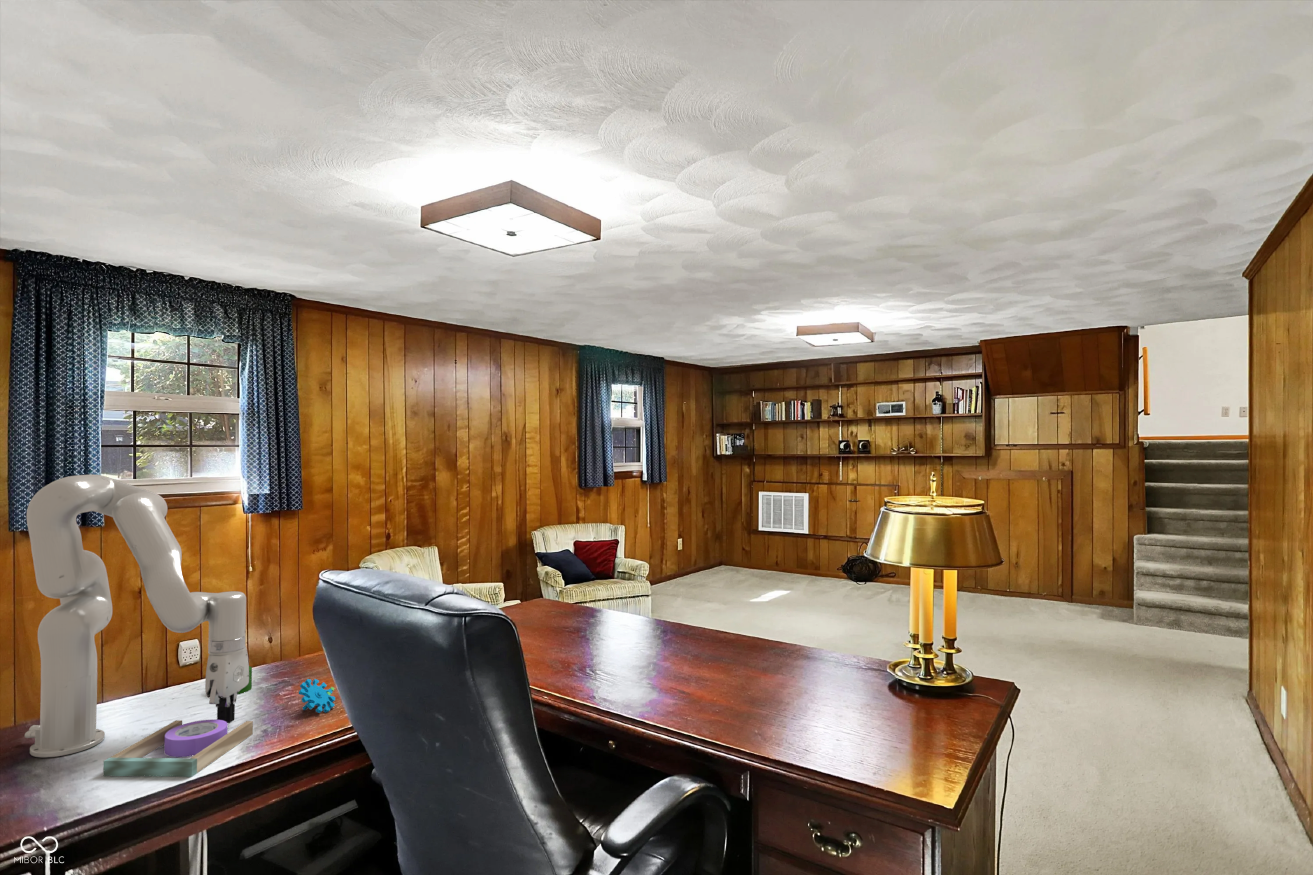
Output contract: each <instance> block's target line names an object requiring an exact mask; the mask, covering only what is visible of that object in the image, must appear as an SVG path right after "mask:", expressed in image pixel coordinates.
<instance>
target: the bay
mask: <svg viewBox="0 0 1313 875" xmlns="http://www.w3.org/2000/svg"><path fill="white" fill-rule="evenodd" d="M180 725H183V720H182V719H181V720H180V719H179V720H178V719H177V720H174V721H172V722H171V723H169V724H167V725H165V726H164V727H161V728H159V729H158V730H156V731H154V732H152V733H151V734H149V735H147V736H146V737H144V738H142V739H140V740H138V741H136V742H135V743H133V744H131V745H130V746H127V747H126V748H124V749H122V750H120V751H118V752H117V753H115V754H113V755H112V756H110V757H109V758H107V759H105V760H103V770H102V771H103V772H102V773H103V775H102V776H104V777H175V778H176V777H177V778H178V777H179V778H181V777H182V778H191V777H194V776H196V774H199V773H200V772H201V771H202V770H203V768H204V769H205V768H207V767H208V766H209V765H211V764H212V763H214V762H215V761H217V760H219V758H220V757H222V756H224V755H225V754H226V753H228V752H229V751H231V750H232V749H234V748H235V747H236V746H238V745H239V744H241V743H242V742H243V741H245V740H246V739H248V738H249V737H251V736H252V735H253V733H254V729H253V727H254V720H252V721H251V720H246V721H245V722H243V723H241V724H240V725H238V726H237V727H235V728H233V729H232V730H230V731H228V732H227V734H226V735H225V736H223V737H222V738H220V739H219V740H217V741H215V742H214V743H212V744H211V745H209V746H208V747H206V748H205V749H203V750H202V751H200V752H199V753H197V754H196V755H194V756H190V757H189V758H188V757H186V758H185V757H171V758H170V757H169V758H168V757H145V756H147V755H148V754H151V753H152V752H153V751H156V750H157V749H158V748H160V747H162V746H163V745H165V734H166V733H167V732H168V731H169V730H171V729H173V728H175V727H177V726H180ZM211 762H212V763H211ZM210 763H211V764H210ZM200 770H201V771H200Z"/></svg>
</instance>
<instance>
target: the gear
mask: <svg viewBox="0 0 1313 875" xmlns="http://www.w3.org/2000/svg"><path fill="white" fill-rule="evenodd" d="M319 682H320V680H319V679H317V678H314V679H313V680H312V679H309V678H307V679H305V681H303V682H302V683H301V684H300V685H299V687H300V689H299V691H298V695H300V696H302V698H301V702H302V703H303V704H304V703H305V705H303V706H302V710H303V711H306V710H308V709H309V710H312V709H313V708H315V706H317V708H316V709H315V712H316V713H319V714H321V713H322V712H323V713H329V712H330V711H331V709H333V708H334V707H335V703H334V702H335V701H336V697H335V696H333V695H332V694H333V692H334V690H335V687H333V686H330V688H329V689H325V688H326V687H327V683H326V682H322V683H321V684H320V685H318V684H319Z"/></svg>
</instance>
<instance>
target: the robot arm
mask: <svg viewBox="0 0 1313 875" xmlns="http://www.w3.org/2000/svg"><path fill="white" fill-rule="evenodd" d="M89 512H95V513H99V514H101V515H104V516H105V515H106V516H109V517H111V518H113V521H114V523H115V525H116V527H117V529H118V530H119V532H120V534H121V536H122V537H123V539H124V540H125V543H126V545H127V546H128V548H129V550H130V552H131V553H132V556H133V557H134V559H135V560H136V562H137V564H138V566H139V568H140V576H141V578H142V583H143V585H144V589H145V592H146V595H147V598H148V600H149V602H150V604H151V606H152V608H153V610H154V611H155V613H156V615H157V616H158V618H159V620H160V621H161V623H162V624H163V625H164V626H165V627H166V628H167V630H169V631H171V632H174V633H179V634H180V633H181V634H182V633H183V634H184V633H188V632H191V631H192V630H194V629H195V628H197V627H198V626H199V625H200V624H203V623H205V622H208V645H207V647H208V652H207V653H208V658H207V663H206V668H205V669H206V671H205V679H204V680H205V683H204V685H205V686H204V687H205V688H204V690H205V691H204V692H205V696H206V697H207V698H209V701H208V703H209V705H215V707H216V711H217V712H216V720H223V721H226V722H227V724H230V723H232V722H233V721H235V720H236V719H235V718H236V717H235V716H236V715H235V713H236V712H235V710H236V708H235V706H236V705H235V703H237V697H238V695H239V694H238V692H239V691H240V690H241V689H242V688H244V687H245V686H247V684H248V683H249V666H250V665H249V654H248V649H247V646H246V638H247V636H246V632H247V630H246V629H247V622H246V621H247V620H246V619H247V616H246V615H247V596H246V594H245V593H244V592H242V591H237V590H236V591H234V590H233V591H231V590H230V591H222V592H205V591H192V592H190V590H189V588H188V586H187V584H186V582H185V579H184V577H183V572H182V560H183V559H182V558H183V557H182V554H183V552H182V547H181V545H180V543H179V541H178V540H177V538H176V537H175V535H174V533H173V531H172V530H171V527H170V526H169V524H168V523H167V522H168V521H167V520H166V516H167V514H168V505H167V502H166V500H165V499H164V497H162V495H159V494H158V493H156V492H154V491H150V490H147V489H145V488H142V487H139V486H135V485H133V484H130V483H126V482H124V481H120V480H117V479H114V478H111V477H109V476H107V475H106V476H105V475H102V474H80V475H79V474H78V475H70V476H65V477H62V478H59V479H56V480H54V481H52V482H50V483H49V484H46V485H45V486H44V487H42V488H40V490H38V491H37V492H36V493H35V494H34V496H33V497H32V498H31V500H30V502H29V503H28V505H27V510H26V525H27V529H28V535H29V536H28V537H29V541H30V546H31V554H32V560H33V569H34V574H35V581H36V585H37V589H38V590H39V592H40V593H41V594H42V595H43V596H45V597H47V598H49V599H50V598H51V599H59V601H60V605H58V606H56V607H54V608H53V609H51V610H50V611H49V612H47V614H45V615H44V616H43V618H42V619H41V621H40V623H39V625H38V629H37V644H38V648H39V653H40V655H39V656H40V709H39V710H40V712H39V714H40V715H39V717H40V718H39V724H33V725H31V726H30V727H29V729H28V730H27V731H26V732H25V733H24V738H25V739H33V738H34V743H33V744H32V745H31V746H30V747H29V754H30V755H31V756H32V757H36V758H55V757H60V756H61V757H62V756H67V755H72V754H76V753H79V752H82V751H85V750H88V749H90V748H93V747H95V746H97V745H99V744H100V743H101V742H102V741H104V740H105V736H106V735H105V733H106V732H105V731H104V730H103V729H99V728H97V707H98V706H97V702H98V653H97V652H98V651H97V647H96V642H95V640H96V639H95V636H96V634H98V633H99V632H101V631H102V630H103V629H105V628H106V627H107V626H108V624H109V623H110V621H111V619H112V617H113V603H112V595H111V590H110V583H109V577H108V573H107V572H108V571H107V567H106V565H105V563H104V561H103V560H102V558H101V557H100V556H99V555H97V554H96V553H95V552H93V551H89V550H86V549H84V546H83V541H82V540H83V539H82V533H81V530H80V527H79V524H78V523H77V516H78V515H81V514H83V513H89ZM237 694H238V695H237Z"/></svg>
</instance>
